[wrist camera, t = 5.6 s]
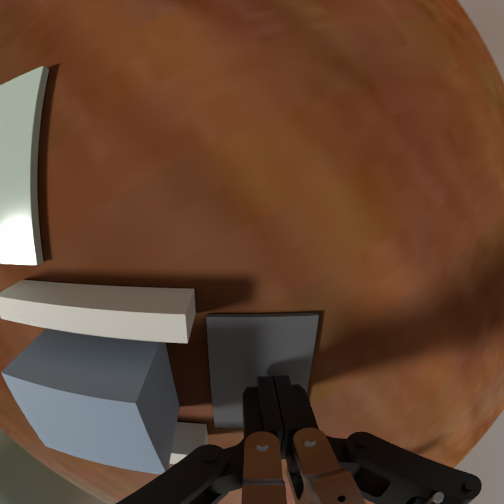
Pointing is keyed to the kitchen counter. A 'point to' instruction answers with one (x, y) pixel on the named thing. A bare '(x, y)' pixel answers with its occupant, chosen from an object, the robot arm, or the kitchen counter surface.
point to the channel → (176, 338)
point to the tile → (20, 167)
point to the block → (98, 398)
